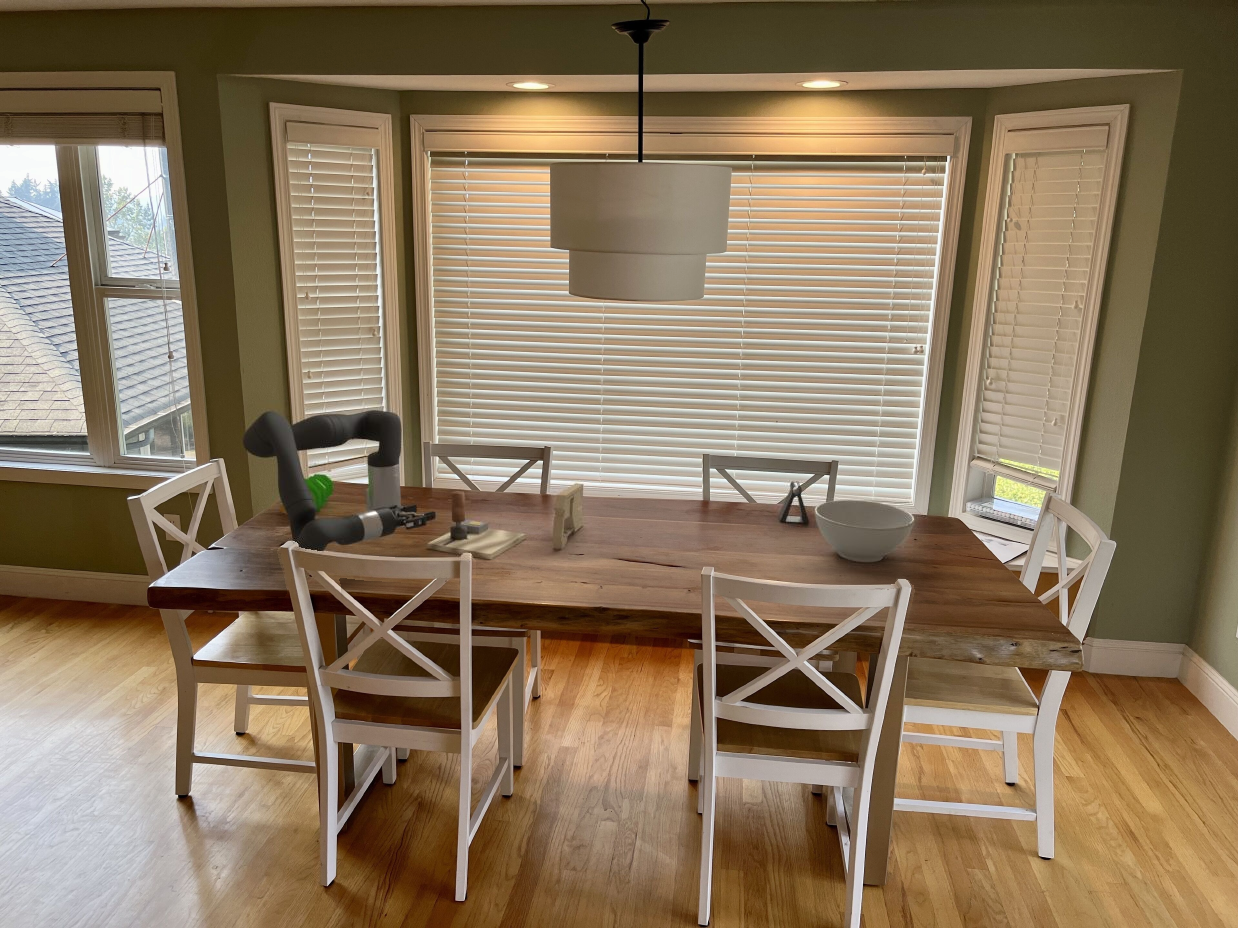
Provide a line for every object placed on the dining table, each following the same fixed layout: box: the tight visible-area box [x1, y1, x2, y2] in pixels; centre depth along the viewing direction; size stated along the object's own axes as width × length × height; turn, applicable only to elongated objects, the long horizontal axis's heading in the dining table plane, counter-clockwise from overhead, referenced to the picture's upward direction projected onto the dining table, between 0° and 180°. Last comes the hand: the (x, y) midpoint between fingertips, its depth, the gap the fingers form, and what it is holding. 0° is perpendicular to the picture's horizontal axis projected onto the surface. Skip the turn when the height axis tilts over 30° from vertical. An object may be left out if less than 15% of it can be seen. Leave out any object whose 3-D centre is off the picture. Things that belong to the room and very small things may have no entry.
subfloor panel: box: [427, 527, 526, 560], centre depth 253 cm, size 20×19×2 cm
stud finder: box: [461, 518, 489, 534], centre depth 260 cm, size 7×5×2 cm
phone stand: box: [778, 480, 810, 525], centre depth 280 cm, size 9×6×12 cm, turn 84°
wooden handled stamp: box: [449, 490, 467, 540], centre depth 251 cm, size 5×5×13 cm
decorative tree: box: [280, 473, 334, 515], centre depth 280 cm, size 11×12×30 cm
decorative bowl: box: [814, 499, 916, 563], centre depth 250 cm, size 27×27×12 cm
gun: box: [551, 482, 584, 550], centre depth 259 cm, size 24×3×15 cm, turn 168°
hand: (425, 511), depth 243 cm, fingers open, 8 cm apart
